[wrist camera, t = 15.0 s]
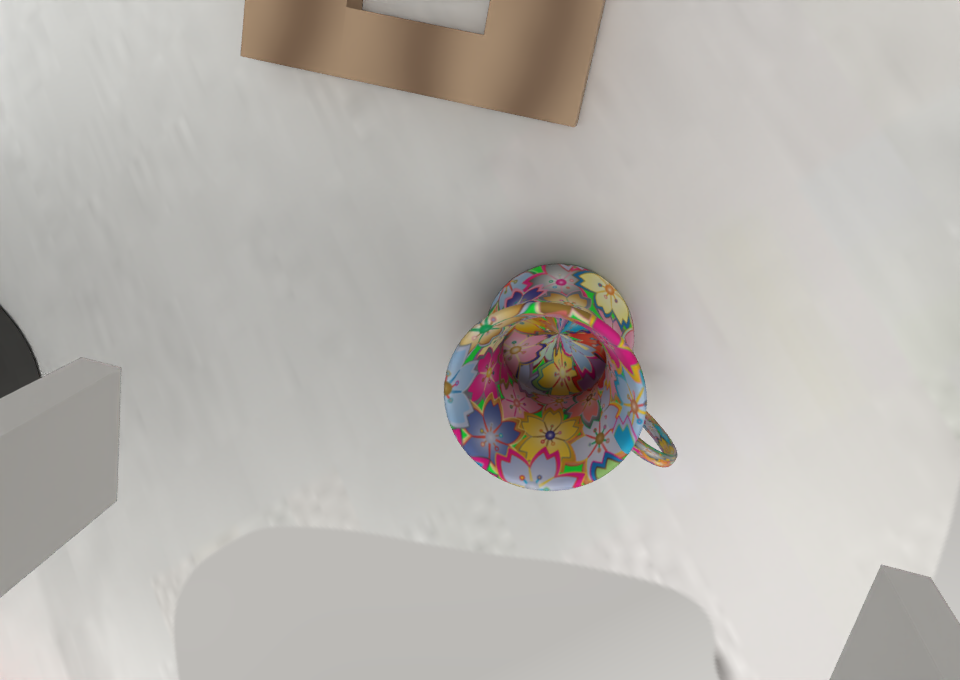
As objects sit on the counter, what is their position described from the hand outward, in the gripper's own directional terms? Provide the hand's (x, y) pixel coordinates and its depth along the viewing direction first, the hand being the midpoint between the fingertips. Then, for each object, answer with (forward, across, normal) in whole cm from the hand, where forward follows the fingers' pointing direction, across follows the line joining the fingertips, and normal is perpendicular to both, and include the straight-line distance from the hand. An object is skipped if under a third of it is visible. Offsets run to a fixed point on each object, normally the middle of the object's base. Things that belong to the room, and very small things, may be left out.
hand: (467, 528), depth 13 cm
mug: (+32, +2, -7) cm, 33 cm away
